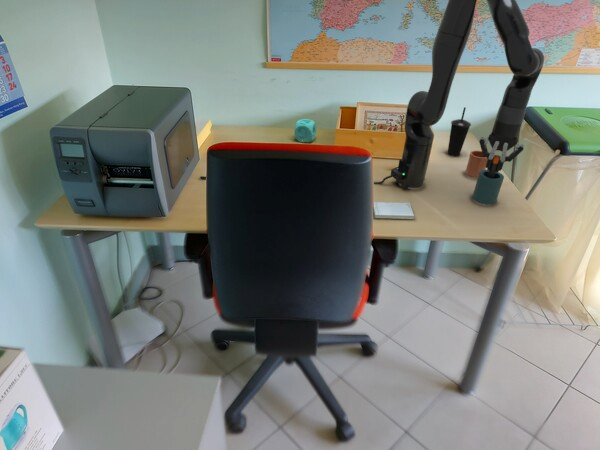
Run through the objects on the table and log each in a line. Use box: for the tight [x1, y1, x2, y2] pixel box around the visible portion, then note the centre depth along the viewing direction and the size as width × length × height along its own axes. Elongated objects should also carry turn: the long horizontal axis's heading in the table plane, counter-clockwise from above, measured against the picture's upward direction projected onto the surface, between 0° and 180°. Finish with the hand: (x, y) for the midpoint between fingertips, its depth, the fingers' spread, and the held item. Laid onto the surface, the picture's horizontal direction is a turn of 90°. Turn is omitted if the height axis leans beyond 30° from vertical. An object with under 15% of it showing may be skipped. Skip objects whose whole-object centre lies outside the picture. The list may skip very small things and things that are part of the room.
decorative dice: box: [294, 118, 317, 143], centre depth 181 cm, size 8×8×8 cm
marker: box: [487, 154, 502, 179], centre depth 135 cm, size 2×2×15 cm
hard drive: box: [372, 201, 415, 220], centre depth 133 cm, size 2×8×12 cm
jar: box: [472, 169, 505, 205], centre depth 137 cm, size 8×8×10 cm
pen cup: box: [464, 150, 488, 179], centre depth 153 cm, size 7×7×9 cm
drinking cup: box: [447, 107, 472, 157], centre depth 166 cm, size 8×8×20 cm
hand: (493, 170), depth 133 cm, fingers closed on marker, 2 cm apart
